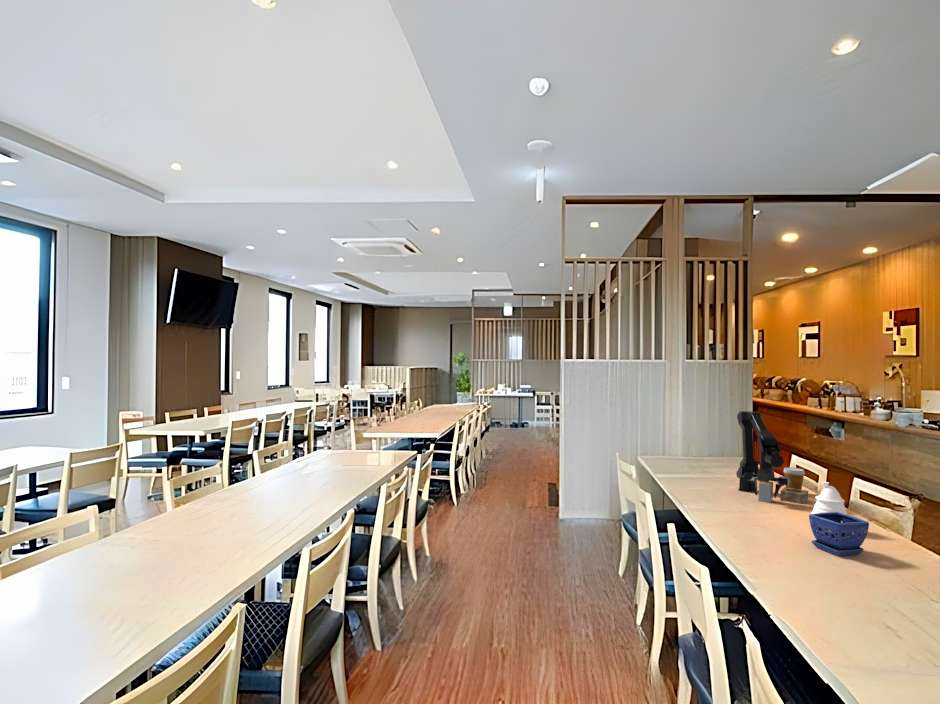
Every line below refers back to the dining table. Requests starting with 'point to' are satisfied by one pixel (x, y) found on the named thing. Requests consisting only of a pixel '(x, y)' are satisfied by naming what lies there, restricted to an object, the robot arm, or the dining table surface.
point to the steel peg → (765, 491)
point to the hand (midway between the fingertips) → (765, 496)
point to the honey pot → (829, 501)
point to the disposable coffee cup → (794, 477)
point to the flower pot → (838, 532)
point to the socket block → (794, 495)
